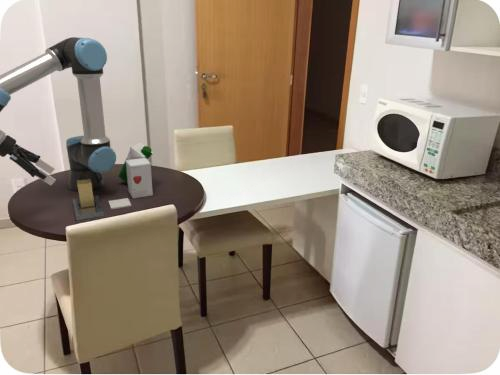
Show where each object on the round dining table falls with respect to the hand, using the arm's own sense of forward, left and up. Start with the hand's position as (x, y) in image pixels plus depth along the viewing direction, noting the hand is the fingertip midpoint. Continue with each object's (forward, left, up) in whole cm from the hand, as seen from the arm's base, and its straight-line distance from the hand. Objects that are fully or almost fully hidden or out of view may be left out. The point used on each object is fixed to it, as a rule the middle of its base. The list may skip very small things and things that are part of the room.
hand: (53, 176), depth 161 cm
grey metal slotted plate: (+5, +9, -16) cm, 19 cm away
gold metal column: (+5, +9, -16) cm, 19 cm away
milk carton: (-6, +39, -14) cm, 42 cm away
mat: (+11, +20, -16) cm, 28 cm away
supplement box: (+9, +33, -16) cm, 38 cm away
